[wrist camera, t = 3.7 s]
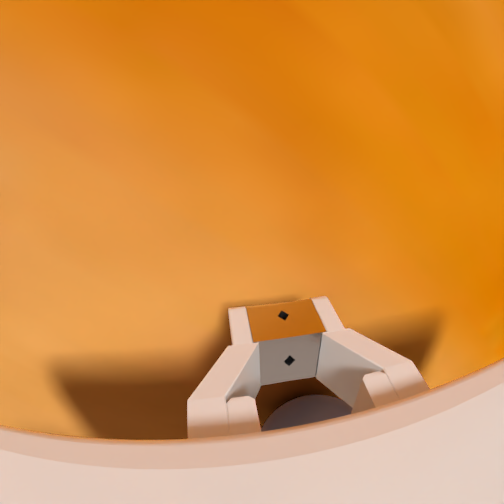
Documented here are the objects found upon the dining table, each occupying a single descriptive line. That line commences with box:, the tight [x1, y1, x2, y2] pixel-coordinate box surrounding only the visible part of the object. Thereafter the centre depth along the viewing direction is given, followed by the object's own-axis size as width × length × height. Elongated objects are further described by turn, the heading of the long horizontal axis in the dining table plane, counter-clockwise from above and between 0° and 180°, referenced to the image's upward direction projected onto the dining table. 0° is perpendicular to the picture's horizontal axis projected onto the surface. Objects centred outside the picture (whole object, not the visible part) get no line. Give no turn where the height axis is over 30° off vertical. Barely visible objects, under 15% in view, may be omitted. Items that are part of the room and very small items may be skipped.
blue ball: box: [261, 395, 353, 431], centre depth 14 cm, size 6×6×6 cm
